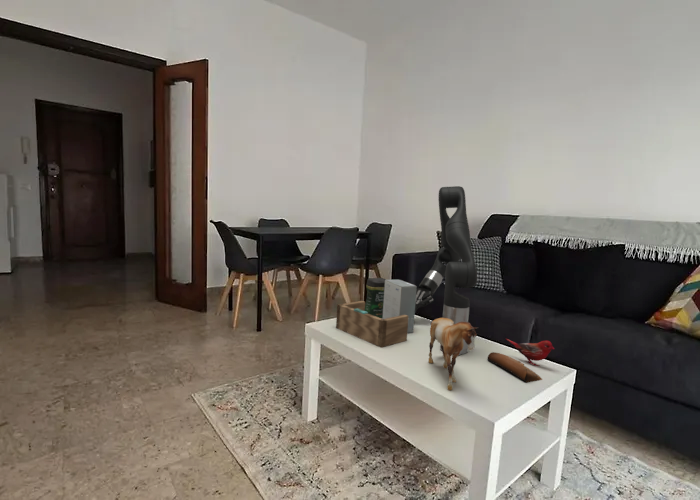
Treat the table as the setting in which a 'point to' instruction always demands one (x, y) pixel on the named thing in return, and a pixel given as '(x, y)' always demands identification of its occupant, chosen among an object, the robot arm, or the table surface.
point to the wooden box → (371, 325)
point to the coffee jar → (375, 296)
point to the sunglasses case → (513, 367)
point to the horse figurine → (451, 341)
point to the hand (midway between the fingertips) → (411, 311)
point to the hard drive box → (399, 301)
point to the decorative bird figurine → (534, 350)
